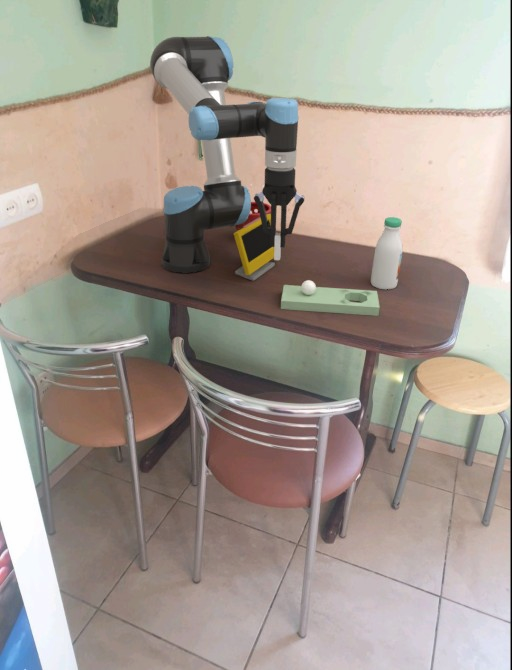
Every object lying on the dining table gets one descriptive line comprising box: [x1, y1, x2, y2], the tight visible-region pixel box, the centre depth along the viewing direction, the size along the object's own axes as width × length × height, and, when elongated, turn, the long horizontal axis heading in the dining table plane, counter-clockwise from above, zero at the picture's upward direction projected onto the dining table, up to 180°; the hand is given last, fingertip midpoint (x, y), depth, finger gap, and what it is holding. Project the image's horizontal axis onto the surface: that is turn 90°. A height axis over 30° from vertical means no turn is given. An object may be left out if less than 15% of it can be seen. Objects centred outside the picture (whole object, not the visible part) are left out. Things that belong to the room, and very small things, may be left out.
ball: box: [300, 279, 317, 295], centre depth 147 cm, size 4×4×4 cm
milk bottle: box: [370, 216, 404, 291], centre depth 155 cm, size 8×8×20 cm
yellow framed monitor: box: [233, 214, 276, 282], centre depth 164 cm, size 20×8×16 cm, turn 151°
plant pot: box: [234, 201, 271, 232], centre depth 187 cm, size 13×13×12 cm
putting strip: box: [280, 284, 381, 317], centre depth 148 cm, size 26×10×2 cm, turn 83°
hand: (277, 258), depth 144 cm, fingers closed
